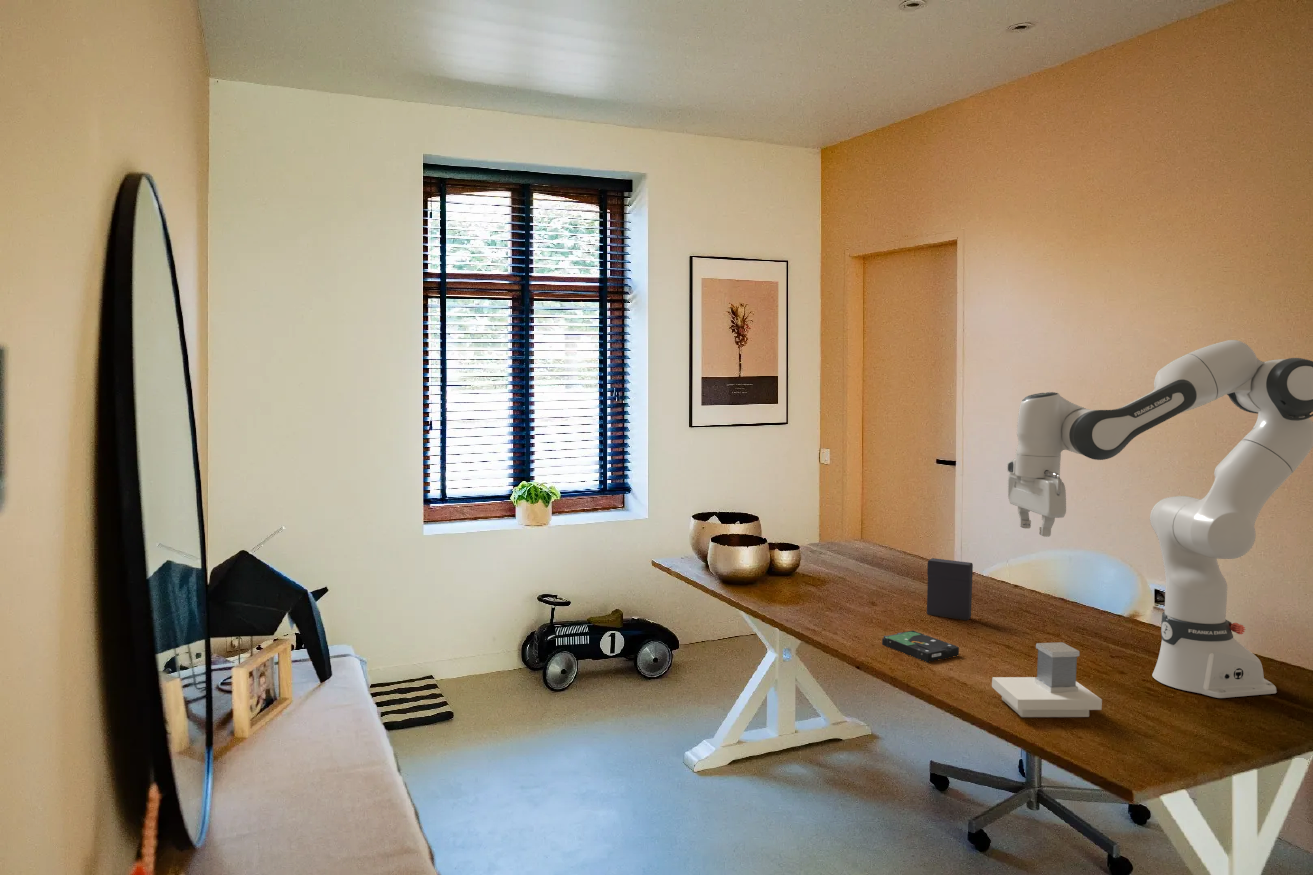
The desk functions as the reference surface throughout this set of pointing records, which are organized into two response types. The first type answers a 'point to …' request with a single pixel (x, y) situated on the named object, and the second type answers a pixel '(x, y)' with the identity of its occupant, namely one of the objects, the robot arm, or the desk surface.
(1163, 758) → the desk surface
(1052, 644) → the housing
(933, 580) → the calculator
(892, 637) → the disk drive
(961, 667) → the desk surface
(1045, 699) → the stand
